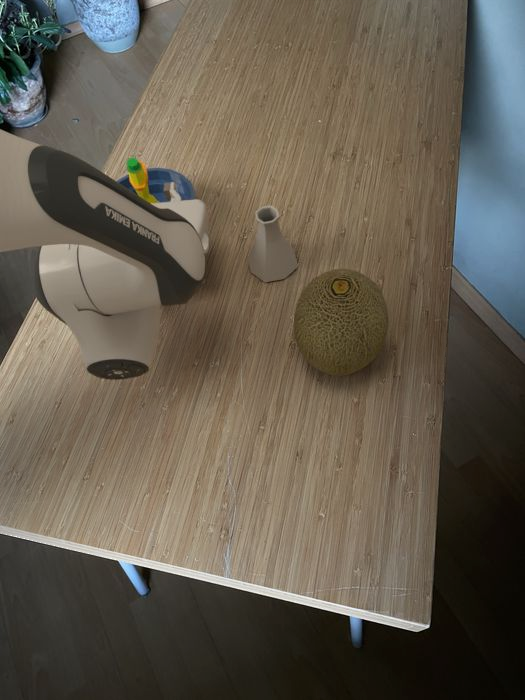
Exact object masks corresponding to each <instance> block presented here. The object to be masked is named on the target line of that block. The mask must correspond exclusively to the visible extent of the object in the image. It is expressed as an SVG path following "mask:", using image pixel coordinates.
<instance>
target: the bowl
mask: <svg viewBox="0 0 525 700" xmlns="http://www.w3.org/2000/svg"><path fill="white" fill-rule="evenodd" d="M146 170H147V175H148V182H147V183H148V189H149V194H150V195H153V196H154V197H155V199H156V200H157V201H159V202H160V203H161V202H171V200H166V197H165V194H164V191H163V190H164V183H170V182H175V185H176V189H177V193H178V194H179V196H180V197H181V200H182V201H184V200H194V199H198V198H197V195H196V190H195V189H194V186H193V184H192V182H191V181H190V179H188V178H187V177H186V176H185V175H184V174H182V173H181V172H178V171H176V170H173V169H171V168H163V167H150V168H146ZM116 181H117V182H118V183H120V184H121V185H123V186H124V187H126V188H127V189H129V190H130V191H132V192H134V193H135V194H137V192H136V190H135V188H134V187H133V186H132V184H131V183H130V181H129V174H126V175H124V176H122V177H121V178H119V179H117V180H116ZM137 195H138V194H137Z"/></svg>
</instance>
